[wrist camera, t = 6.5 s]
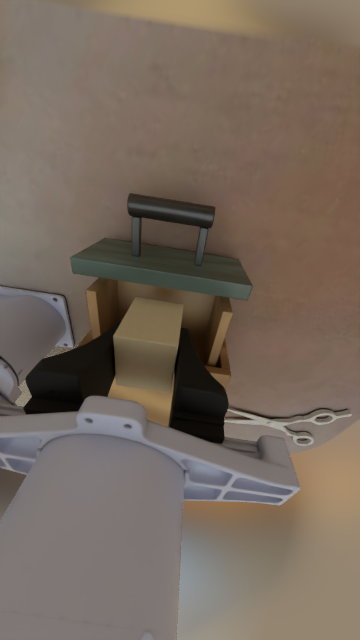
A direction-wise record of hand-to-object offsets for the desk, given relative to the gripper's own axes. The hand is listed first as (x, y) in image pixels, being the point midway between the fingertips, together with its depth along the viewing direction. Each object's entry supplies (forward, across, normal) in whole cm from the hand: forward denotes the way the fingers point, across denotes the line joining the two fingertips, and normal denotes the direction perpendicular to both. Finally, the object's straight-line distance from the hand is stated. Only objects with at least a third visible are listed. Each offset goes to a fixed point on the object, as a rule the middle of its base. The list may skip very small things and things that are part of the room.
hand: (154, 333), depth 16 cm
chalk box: (+1, 0, 0) cm, 1 cm away
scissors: (+8, -20, +21) cm, 30 cm away
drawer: (+7, 0, 0) cm, 7 cm away
